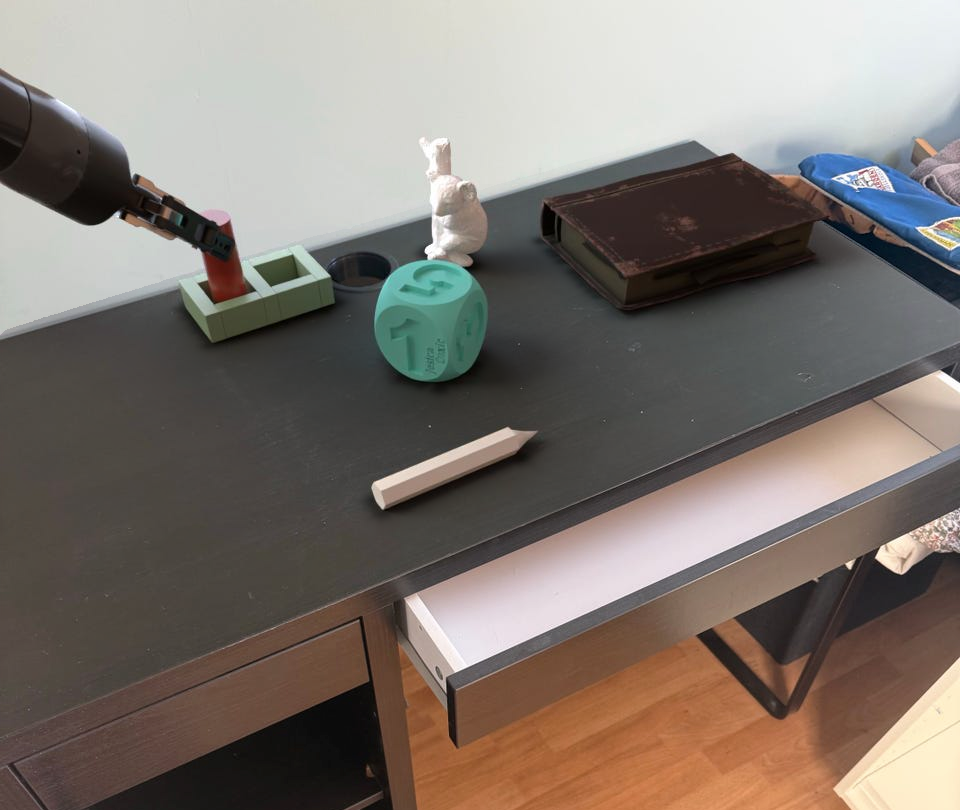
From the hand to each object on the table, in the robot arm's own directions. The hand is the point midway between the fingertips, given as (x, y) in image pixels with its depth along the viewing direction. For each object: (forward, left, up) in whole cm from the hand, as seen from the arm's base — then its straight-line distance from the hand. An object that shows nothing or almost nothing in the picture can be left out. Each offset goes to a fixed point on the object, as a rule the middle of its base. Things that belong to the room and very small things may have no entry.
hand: (197, 236), depth 85 cm
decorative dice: (+23, +3, -9) cm, 25 cm away
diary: (+39, +32, -9) cm, 51 cm away
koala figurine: (+17, +20, -9) cm, 28 cm away
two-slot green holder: (+2, +4, -9) cm, 10 cm away
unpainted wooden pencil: (+32, -11, -9) cm, 35 cm away
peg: (+1, +2, -9) cm, 9 cm away
